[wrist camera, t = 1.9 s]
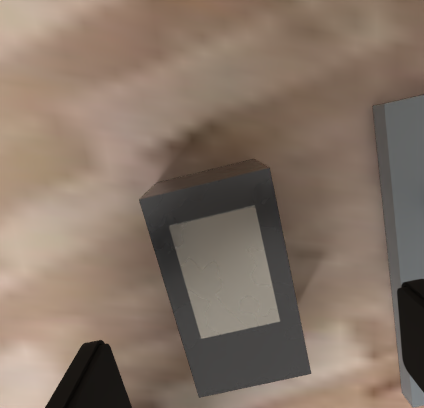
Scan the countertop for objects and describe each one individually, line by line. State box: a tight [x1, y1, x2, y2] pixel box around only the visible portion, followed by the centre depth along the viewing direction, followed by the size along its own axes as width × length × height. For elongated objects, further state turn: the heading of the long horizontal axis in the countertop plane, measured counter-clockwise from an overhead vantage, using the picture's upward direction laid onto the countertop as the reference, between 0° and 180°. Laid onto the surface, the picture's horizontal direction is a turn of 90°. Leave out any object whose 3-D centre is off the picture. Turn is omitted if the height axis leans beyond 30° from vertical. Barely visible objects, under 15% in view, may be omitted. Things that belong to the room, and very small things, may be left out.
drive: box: [139, 159, 311, 398], centre depth 18 cm, size 11×6×5 cm, turn 14°
